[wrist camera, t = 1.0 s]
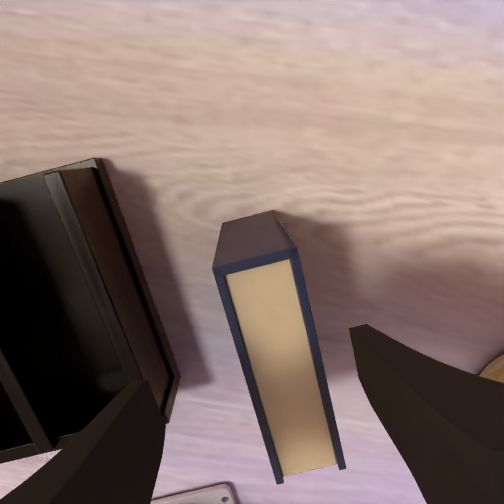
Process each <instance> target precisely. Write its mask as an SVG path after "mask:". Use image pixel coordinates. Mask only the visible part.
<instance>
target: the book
mask: <svg viewBox="0 0 504 504" xmlns="http://www.w3.org/2000/svg"><path fill="white" fill-rule="evenodd" d="M212 270H213V273H214V276H215V280H216V283H217V286H218V290H219V293H220V296H221V300H222V303H223V306H224V310H225V313H226V316H227V320H228V323H229V326H230V330H231V333H232V336H233V340H234V343H235V346H236V350H237V353H238V356H239V360H240V363H241V366H242V369H243V373H244V376H245V379H246V383H247V386H248V389H249V393H250V396H251V399H252V403H253V406H254V409H255V413H256V416H257V419H258V423H259V426H260V429H261V433H262V436H263V439H264V443H265V446H266V449H267V453H268V456H269V459H270V463H271V466H272V469H273V473H274V476H275V479H276V483H277V484H282V483H284V481H283V476H288V475H292V474H297V473H301V472H305V471H310V470H314V469H318V468H322V467H327V466H331V465H335V464H338V467H339V470H343V469H346V465H345V460H344V456H343V451H342V447H341V442H340V438H339V433H338V429H337V424H336V420H335V416H334V411H333V407H332V402H331V398H330V393H329V389H328V384H327V380H326V375H325V371H324V366H323V362H322V357H321V353H320V348H319V344H318V339H317V335H316V330H315V326H314V321H313V317H312V312H311V308H310V303H309V299H308V294H307V290H306V285H305V281H304V276H303V272H302V267H301V263H300V258H299V254H298V249H297V246H296V245H295V243H294V242H293V240H292V238H291V237H290V235H289V234H288V232H287V231H286V229H285V227H284V226H283V224H282V223H281V221H280V220H279V218H278V217H277V215H276V213H275V212H274V210H271V211H267V212H264V213H260V214H256V215H252V216H248V217H244V218H240V219H236V220H232V221H228V222H224V223H222V226H221V231H220V235H219V240H218V244H217V249H216V253H215V257H214V262H213V266H212Z"/></svg>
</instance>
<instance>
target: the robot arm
mask: <svg viewBox="0 0 504 504" xmlns="http://www.w3.org/2000/svg"><path fill="white" fill-rule="evenodd" d="M349 331H350V336H351V342H352V347H353V352H354V357H355V362H356V367H357V372H358V377H359V380H360V382H361V384H362V387H363V389H364V391H365V393H366V396H367V398H368V400H369V402H370V404H371V406H372V408H373V409H374V411H375V413H376V414H377V416H378V418H379V419H380V421H381V423H382V424H383V426H384V428H385V429H386V431H387V433H388V434H389V436H390V438H391V439H392V441H393V443H394V444H395V446H396V448H397V449H398V451H399V453H400V454H401V456H402V458H403V459H404V461H405V462H406V464H407V466H408V468H409V469H410V471H411V473H412V475H413V477H414V479H415V480H416V482H417V484H418V486H419V489H420V491H421V493H422V495H423V497H424V499H425V501H426V503H427V504H504V383H502V382H498V381H495V380H491V379H487V378H484V377H481V376H478V375H475V374H471V373H469V372H466V371H463V370H460V369H458V368H455V367H452V366H449V365H447V364H444V363H442V362H439V361H437V360H435V359H433V358H430V357H428V356H426V355H424V354H422V353H419V352H417V351H415V350H413V349H411V348H409V347H407V346H405V345H404V344H402V343H400V342H398V341H396V340H394V339H392V338H391V337H389V336H387V335H385V334H383V333H382V332H380V331H378V330H376V329H375V328H373V327H371V326H369V325H368V324H364V325H360V326H356V327H352V328H349ZM165 429H166V424H165V422H164V419H163V417H162V414H161V412H160V409H159V407H158V404H157V402H156V399H155V397H154V394H153V392H152V389H151V387H150V384H149V382H148V380H147V379H143V380H139V381H135V382H131V383H130V384H128V385H127V386H126V387H125V388H124V389H123V390H122V391H121V392H120V393H119V394H118V395H117V396H116V397H115V398H114V399H113V400H112V401H111V402H110V403H109V404H108V405H107V406H106V407H105V408H104V409H103V410H102V411H101V412H100V413H99V414H98V415H97V416H96V417H95V418H94V419H93V420H92V421H91V422H90V423H89V424H88V425H87V426H86V427H85V428H84V429H83V430H82V431H81V432H80V433H79V434H78V435H77V436H76V437H74V438H73V439H72V440H71V441H70V442H69V443H68V444H67V445H66V446H65V447H64V448H63V449H62V450H61V451H60V452H59V453H58V454H56V455H55V456H54V457H53V458H52V459H51V460H50V461H48V462H47V463H46V464H45V465H44V466H43V467H41V468H40V469H39V470H38V471H37V472H35V473H34V474H33V475H32V476H31V477H29V478H28V479H27V480H26V481H24V482H23V483H22V484H21V485H19V486H18V487H16V488H15V489H14V490H12V491H11V492H10V493H8V494H7V495H6V496H4V497H3V498H2V499H0V504H236V503H235V500H234V497H233V494H232V491H231V489H230V487H229V486H228V485H226V484H221V485H216V486H212V487H208V488H203V489H199V490H195V491H191V492H186V493H182V494H178V495H174V496H169V497H165V498H161V499H156V500H152V501H151V498H152V495H153V491H154V487H155V483H156V479H157V475H158V471H159V467H160V463H161V459H162V454H163V446H164V438H165Z"/></svg>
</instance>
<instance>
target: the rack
mask: <svg viewBox="0 0 504 504" xmlns="http://www.w3.org/2000/svg"><path fill="white" fill-rule="evenodd" d="M180 378H181V376H180V373H179V370H178V368H177V365H176V362H175V359H174V357H173V354H172V351H171V348H170V345H169V343H168V340H167V337H166V334H165V332H164V329H163V326H162V323H161V321H160V318H159V315H158V312H157V309H156V307H155V304H154V301H153V298H152V296H151V293H150V290H149V287H148V285H147V282H146V279H145V276H144V273H143V271H142V268H141V265H140V262H139V260H138V257H137V254H136V251H135V249H134V246H133V243H132V240H131V237H130V235H129V232H128V229H127V226H126V224H125V221H124V218H123V215H122V213H121V210H120V207H119V204H118V201H117V199H116V196H115V193H114V190H113V188H112V185H111V182H110V179H109V177H108V174H107V171H106V168H105V165H104V163H103V160H102V158H92V159H88V160H84V161H80V162H77V163H73V164H69V165H65V166H61V167H58V168H54V169H50V170H46V171H43V172H39V173H35V174H31V175H27V176H24V177H20V178H16V179H12V180H9V181H5V182H1V183H0V464H1V463H5V462H9V461H13V460H18V459H22V458H26V457H30V456H34V455H38V454H43V453H47V452H51V451H55V450H59V449H63V448H64V447H65V446H66V445H67V444H68V443H69V442H70V441H71V440H72V439H73V438H74V437H76V436H77V435H78V434H79V433H80V432H81V431H82V430H83V429H84V428H85V427H86V426H87V425H88V424H89V423H90V422H91V421H92V420H93V419H94V418H95V417H96V416H97V415H98V414H99V413H100V412H101V411H102V410H103V409H104V408H105V407H106V406H107V405H108V404H109V403H110V402H111V401H112V400H113V399H114V398H115V397H116V396H117V395H118V394H119V393H120V392H121V391H122V390H123V389H124V388H125V387H126V386H127V385H128V384H130V383H131V382H135V381H139V380H143V379H147V380H148V382H149V384H150V387H151V389H152V392H153V394H154V397H155V399H156V402H157V404H158V407H159V409H160V412H161V414H162V417H163V419H164V422H165V424H168V423H169V421H170V417H171V413H172V409H173V405H174V401H175V398H176V394H177V390H178V386H179V382H180Z"/></svg>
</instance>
